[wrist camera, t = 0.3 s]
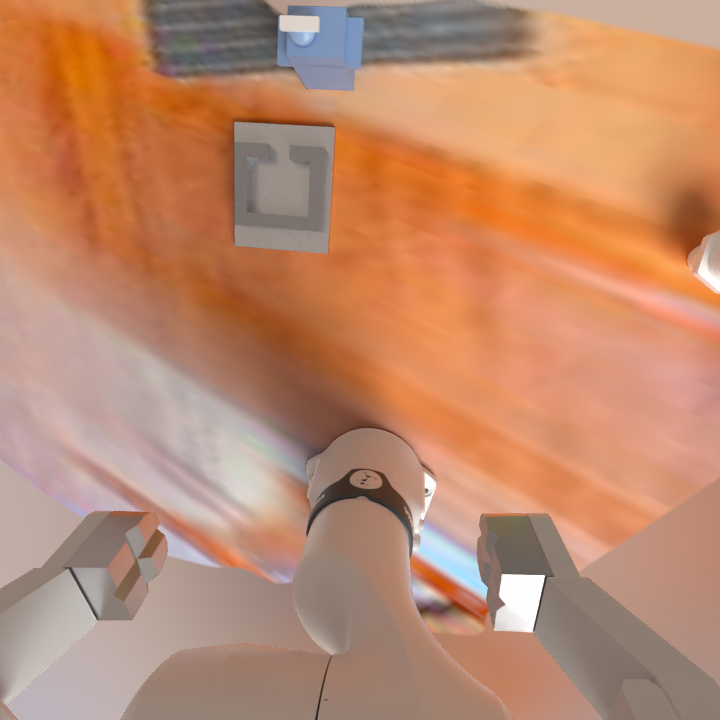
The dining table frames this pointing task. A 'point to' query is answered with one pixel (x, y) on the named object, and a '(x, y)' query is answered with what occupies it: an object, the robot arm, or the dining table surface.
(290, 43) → the servo
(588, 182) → the dining table surface
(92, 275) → the dining table surface
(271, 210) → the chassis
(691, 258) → the pipe fitting
